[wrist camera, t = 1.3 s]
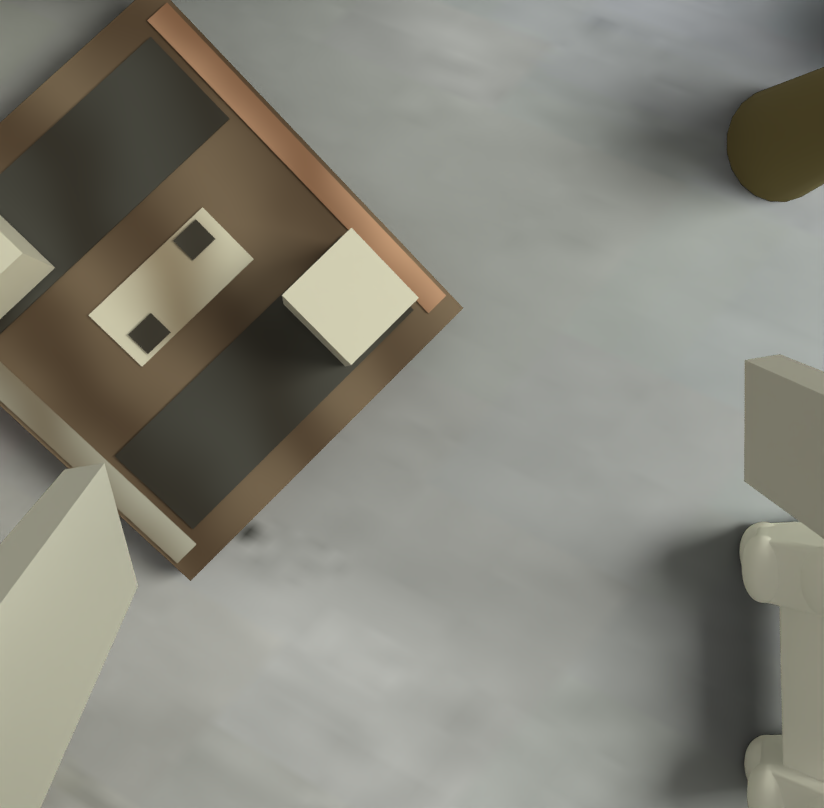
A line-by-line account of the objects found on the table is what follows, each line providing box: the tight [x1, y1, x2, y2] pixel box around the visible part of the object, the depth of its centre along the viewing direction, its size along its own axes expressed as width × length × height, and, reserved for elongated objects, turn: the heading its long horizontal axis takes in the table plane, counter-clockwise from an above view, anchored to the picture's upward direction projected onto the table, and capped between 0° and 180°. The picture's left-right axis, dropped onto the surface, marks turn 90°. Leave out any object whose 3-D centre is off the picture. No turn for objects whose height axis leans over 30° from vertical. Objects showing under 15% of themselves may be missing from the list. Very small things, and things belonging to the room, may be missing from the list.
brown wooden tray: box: [0, 0, 463, 581], centre depth 35 cm, size 18×20×2 cm
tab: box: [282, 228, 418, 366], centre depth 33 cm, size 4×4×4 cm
